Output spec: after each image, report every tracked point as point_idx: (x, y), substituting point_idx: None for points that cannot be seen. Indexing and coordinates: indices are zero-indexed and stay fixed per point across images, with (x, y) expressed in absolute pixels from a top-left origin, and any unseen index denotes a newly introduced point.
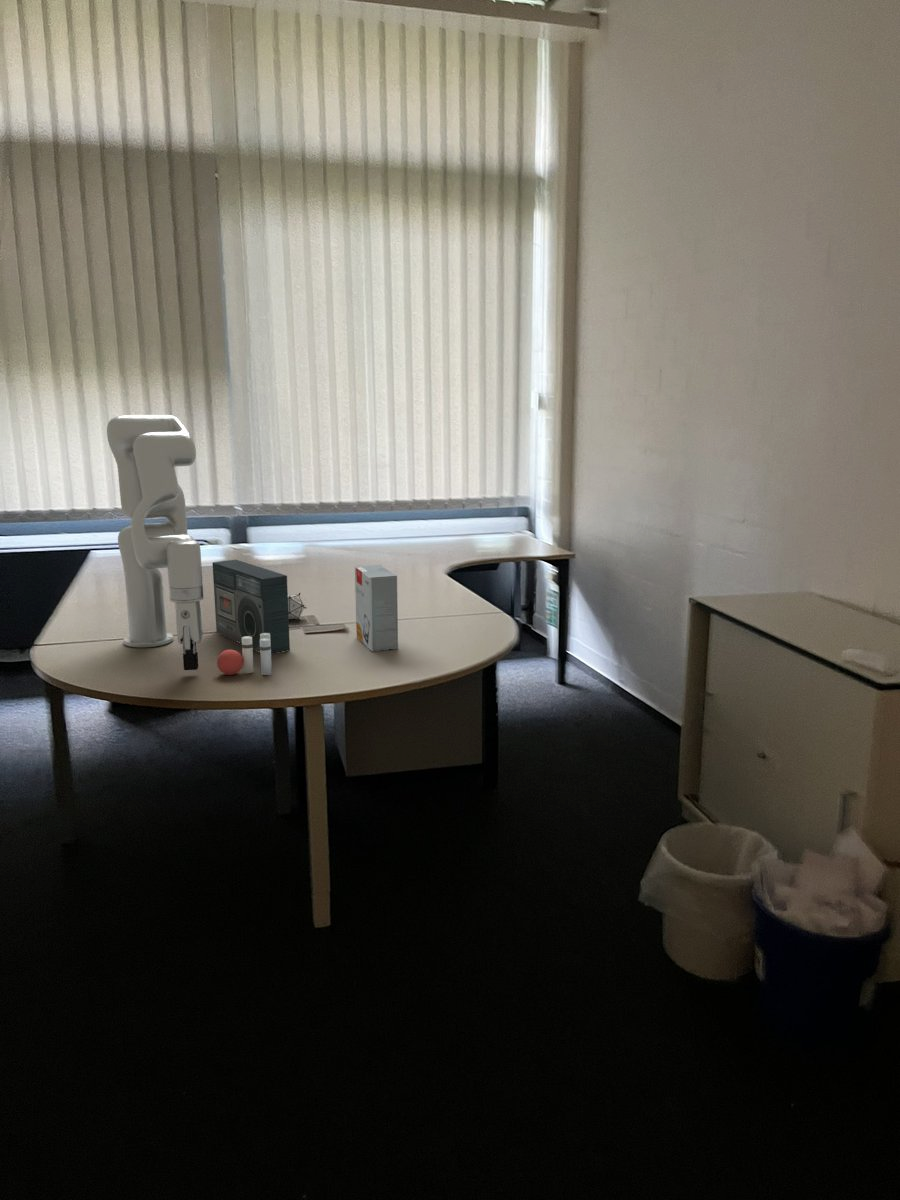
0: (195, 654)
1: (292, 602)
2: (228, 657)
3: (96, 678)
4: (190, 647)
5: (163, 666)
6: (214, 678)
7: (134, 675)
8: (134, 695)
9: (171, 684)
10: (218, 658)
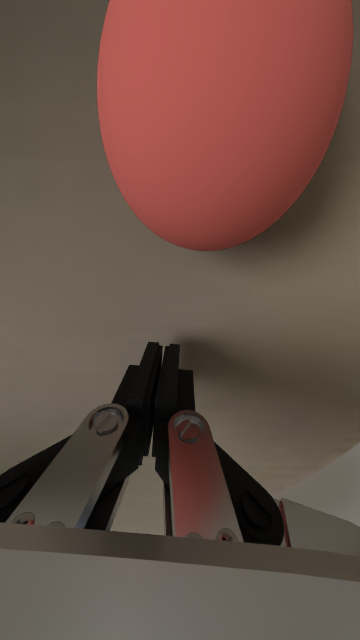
0: (176, 405)
1: None
2: (339, 112)
3: (138, 527)
4: (336, 548)
5: (47, 424)
6: (238, 266)
7: (130, 478)
8: (306, 477)
9: (250, 407)
10: (234, 236)
